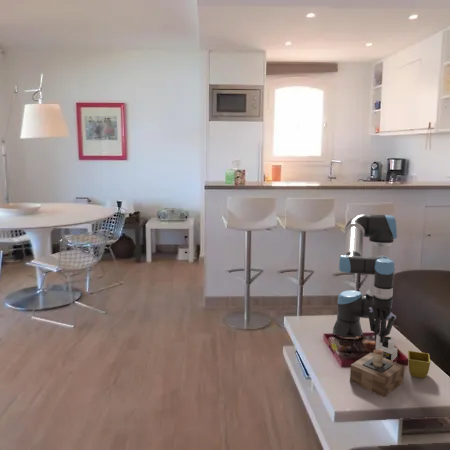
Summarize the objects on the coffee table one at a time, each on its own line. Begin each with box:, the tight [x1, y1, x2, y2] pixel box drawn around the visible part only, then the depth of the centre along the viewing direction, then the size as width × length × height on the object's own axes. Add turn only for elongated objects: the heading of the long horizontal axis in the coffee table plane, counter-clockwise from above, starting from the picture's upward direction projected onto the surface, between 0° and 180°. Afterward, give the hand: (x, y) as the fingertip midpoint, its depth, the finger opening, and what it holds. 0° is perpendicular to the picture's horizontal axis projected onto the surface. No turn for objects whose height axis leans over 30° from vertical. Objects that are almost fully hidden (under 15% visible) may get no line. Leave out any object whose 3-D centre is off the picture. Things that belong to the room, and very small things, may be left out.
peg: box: [372, 348, 383, 369], centre depth 195 cm, size 4×4×8 cm
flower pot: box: [407, 350, 431, 379], centre depth 202 cm, size 9×9×9 cm
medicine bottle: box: [380, 336, 399, 361], centre depth 212 cm, size 7×7×12 cm
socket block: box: [349, 352, 405, 398], centre depth 196 cm, size 16×16×8 cm
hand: (378, 348), depth 194 cm, fingers closed
